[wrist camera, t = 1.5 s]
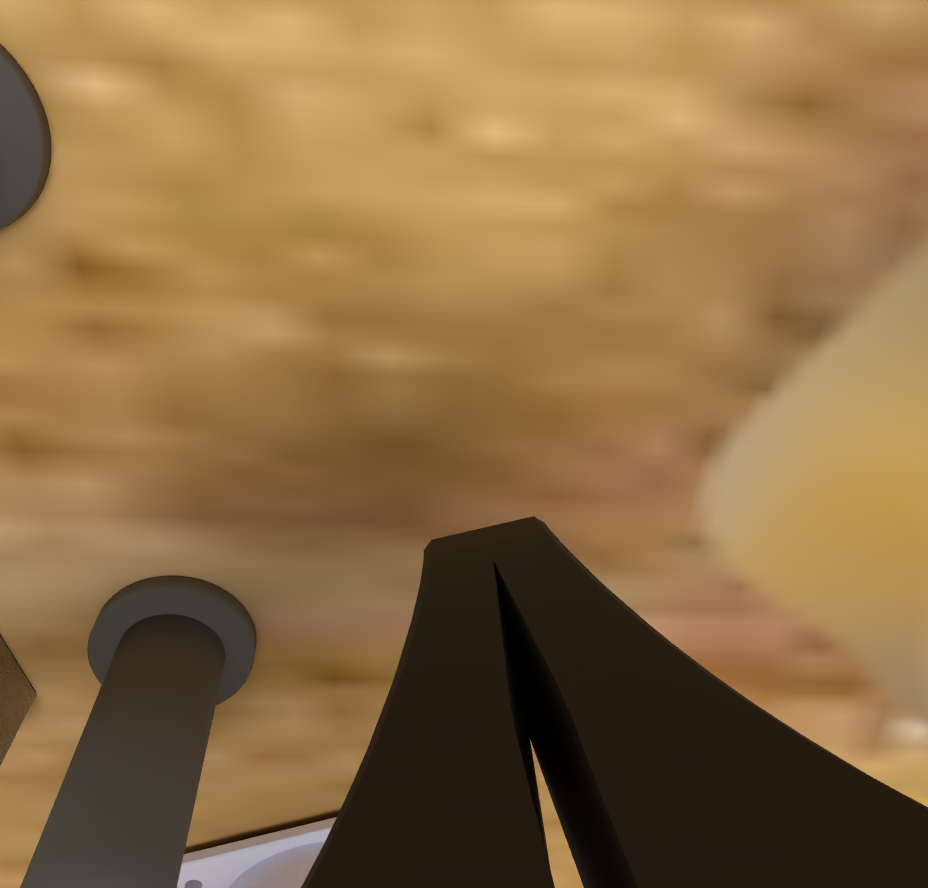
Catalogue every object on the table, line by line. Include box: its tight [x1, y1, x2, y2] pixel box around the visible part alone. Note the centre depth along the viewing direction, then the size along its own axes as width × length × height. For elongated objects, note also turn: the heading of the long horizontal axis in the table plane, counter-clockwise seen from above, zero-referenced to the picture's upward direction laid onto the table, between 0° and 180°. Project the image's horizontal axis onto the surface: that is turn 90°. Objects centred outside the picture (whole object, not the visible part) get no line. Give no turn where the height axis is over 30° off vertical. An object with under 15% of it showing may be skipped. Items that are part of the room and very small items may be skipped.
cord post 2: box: [20, 576, 256, 888], centre depth 17 cm, size 4×4×7 cm
